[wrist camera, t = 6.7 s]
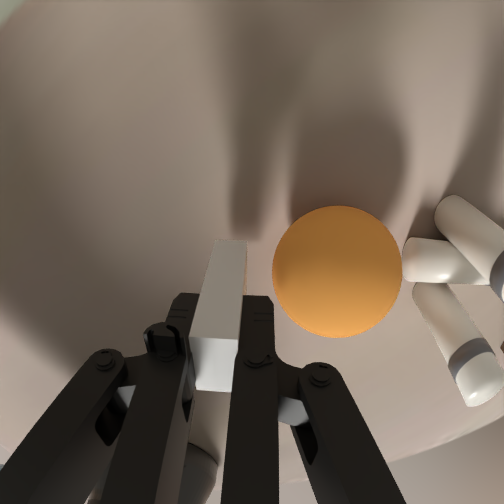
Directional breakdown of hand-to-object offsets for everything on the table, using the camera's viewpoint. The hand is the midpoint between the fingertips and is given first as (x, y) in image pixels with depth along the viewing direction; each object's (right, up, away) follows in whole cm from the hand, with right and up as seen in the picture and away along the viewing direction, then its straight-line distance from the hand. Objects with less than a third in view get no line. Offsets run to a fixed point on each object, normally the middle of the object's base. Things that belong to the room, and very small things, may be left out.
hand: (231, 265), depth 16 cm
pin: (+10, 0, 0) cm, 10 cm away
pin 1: (+12, +3, 0) cm, 13 cm away
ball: (+5, 0, -1) cm, 5 cm away
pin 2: (+12, -2, +3) cm, 13 cm away
